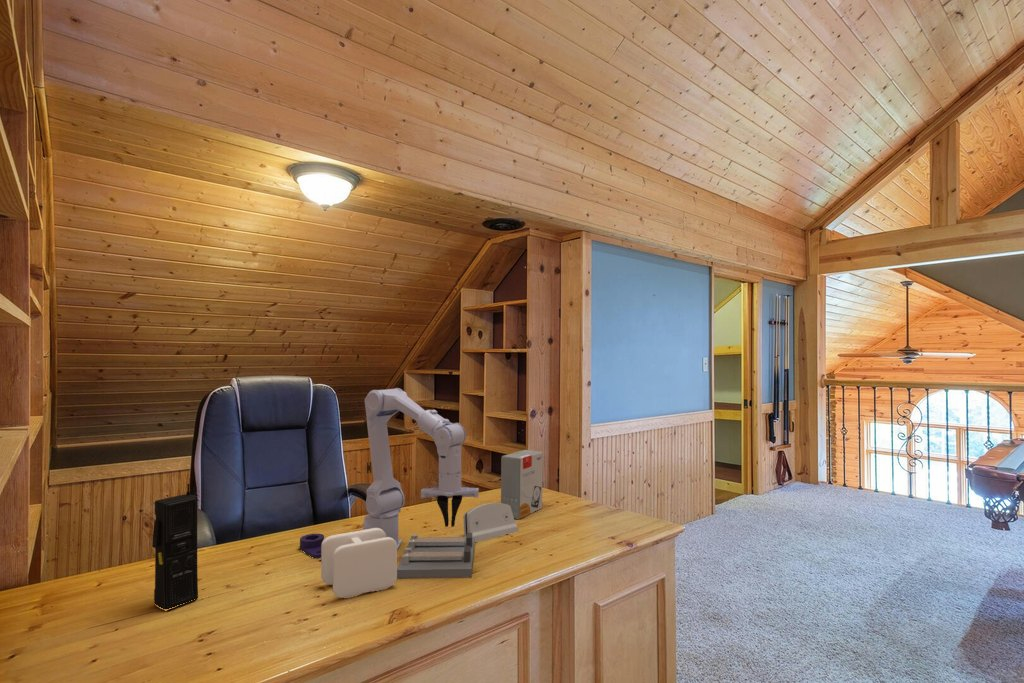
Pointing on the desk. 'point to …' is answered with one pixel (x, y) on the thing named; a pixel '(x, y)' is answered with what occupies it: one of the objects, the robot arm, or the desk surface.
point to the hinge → (489, 521)
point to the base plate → (438, 561)
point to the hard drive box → (522, 482)
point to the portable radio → (175, 550)
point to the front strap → (434, 555)
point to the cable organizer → (359, 562)
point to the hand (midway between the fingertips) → (449, 525)
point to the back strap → (439, 541)
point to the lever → (312, 544)
